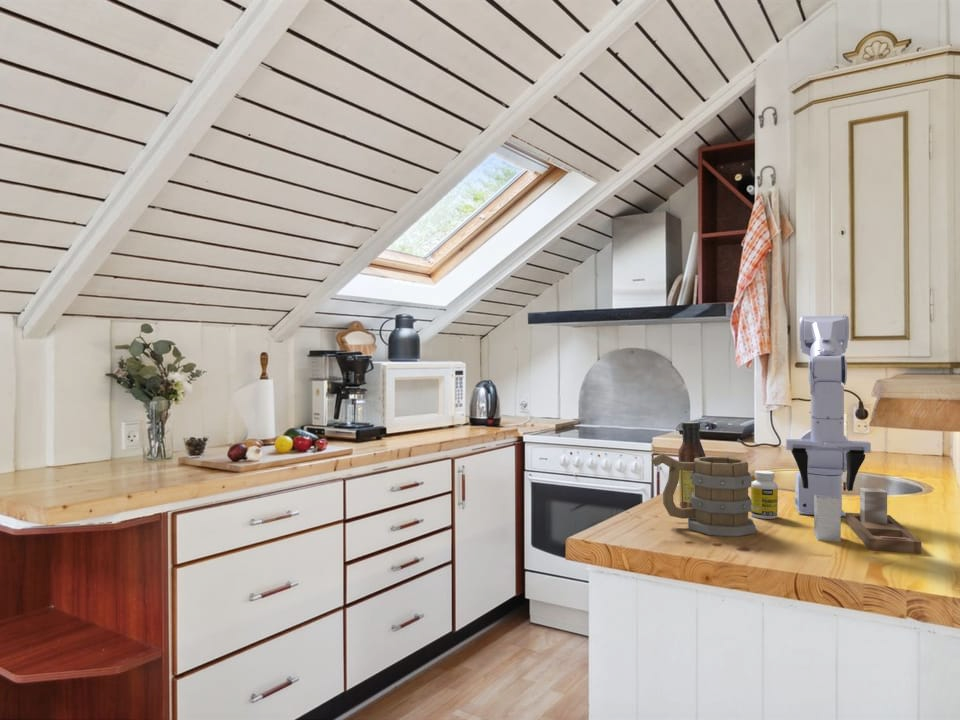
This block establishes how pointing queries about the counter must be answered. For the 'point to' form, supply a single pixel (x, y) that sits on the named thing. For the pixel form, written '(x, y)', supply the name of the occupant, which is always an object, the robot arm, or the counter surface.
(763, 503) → the supplement bottle
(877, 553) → the counter surface
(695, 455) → the sauce bottle
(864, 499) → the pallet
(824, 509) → the block
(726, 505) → the tankard
